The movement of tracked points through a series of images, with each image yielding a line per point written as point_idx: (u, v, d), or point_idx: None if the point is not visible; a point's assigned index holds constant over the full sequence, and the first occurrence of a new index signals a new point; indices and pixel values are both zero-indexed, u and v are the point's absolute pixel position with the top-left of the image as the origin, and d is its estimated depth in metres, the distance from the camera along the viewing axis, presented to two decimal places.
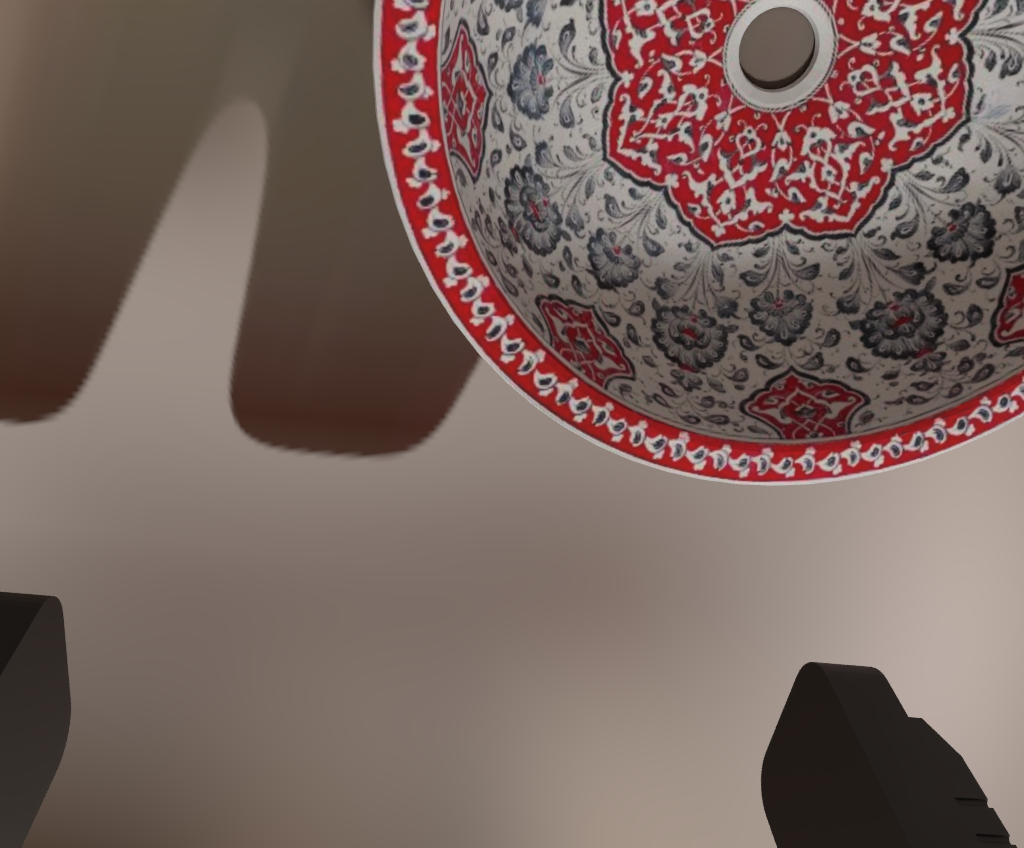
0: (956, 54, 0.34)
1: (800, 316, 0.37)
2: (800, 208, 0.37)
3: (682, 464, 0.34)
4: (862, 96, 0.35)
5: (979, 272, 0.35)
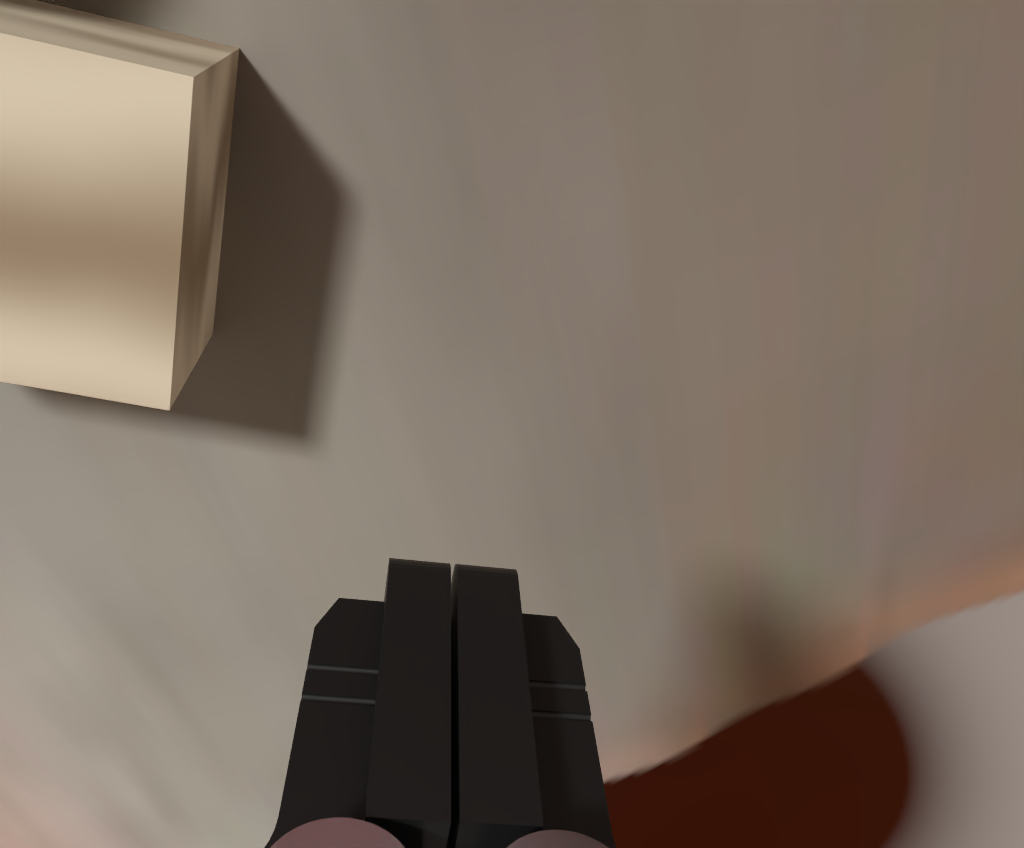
0: None
1: None
2: None
3: None
4: None
5: None
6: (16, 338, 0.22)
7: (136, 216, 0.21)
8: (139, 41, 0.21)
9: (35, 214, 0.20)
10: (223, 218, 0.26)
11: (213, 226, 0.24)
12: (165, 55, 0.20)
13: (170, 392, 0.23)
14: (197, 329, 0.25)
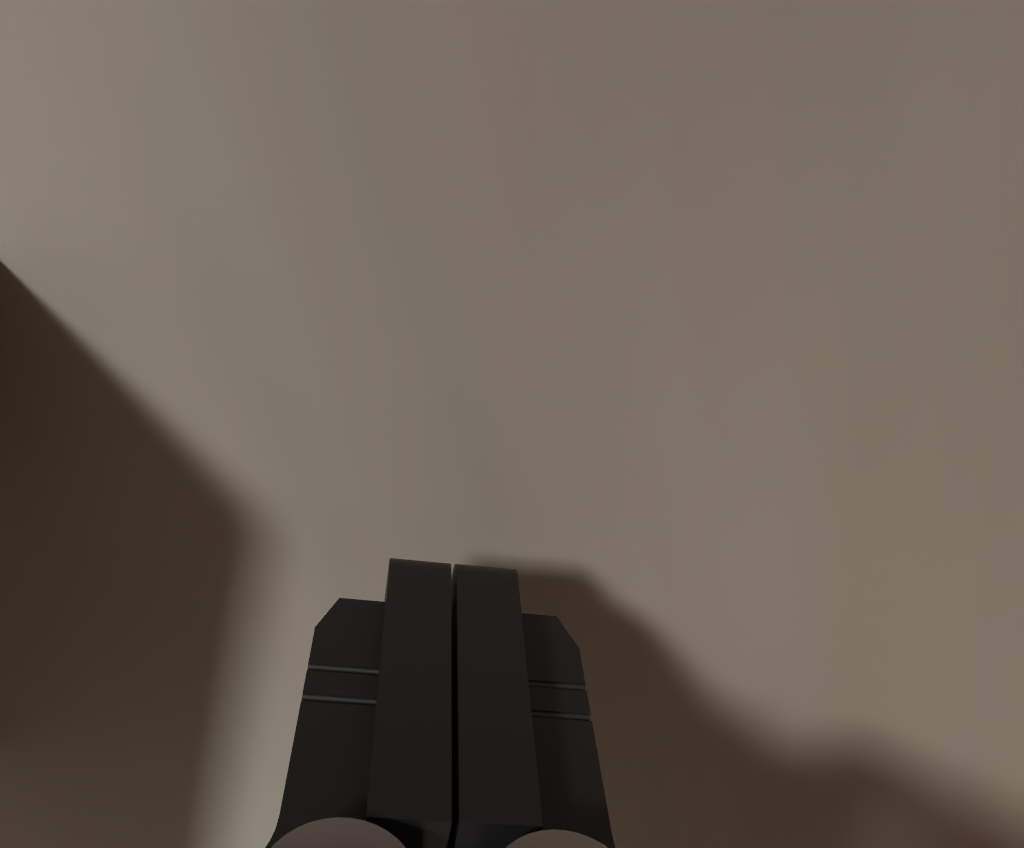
0: None
1: None
2: None
3: None
4: None
5: None
6: None
7: None
8: None
9: None
10: None
11: None
12: None
13: None
14: None
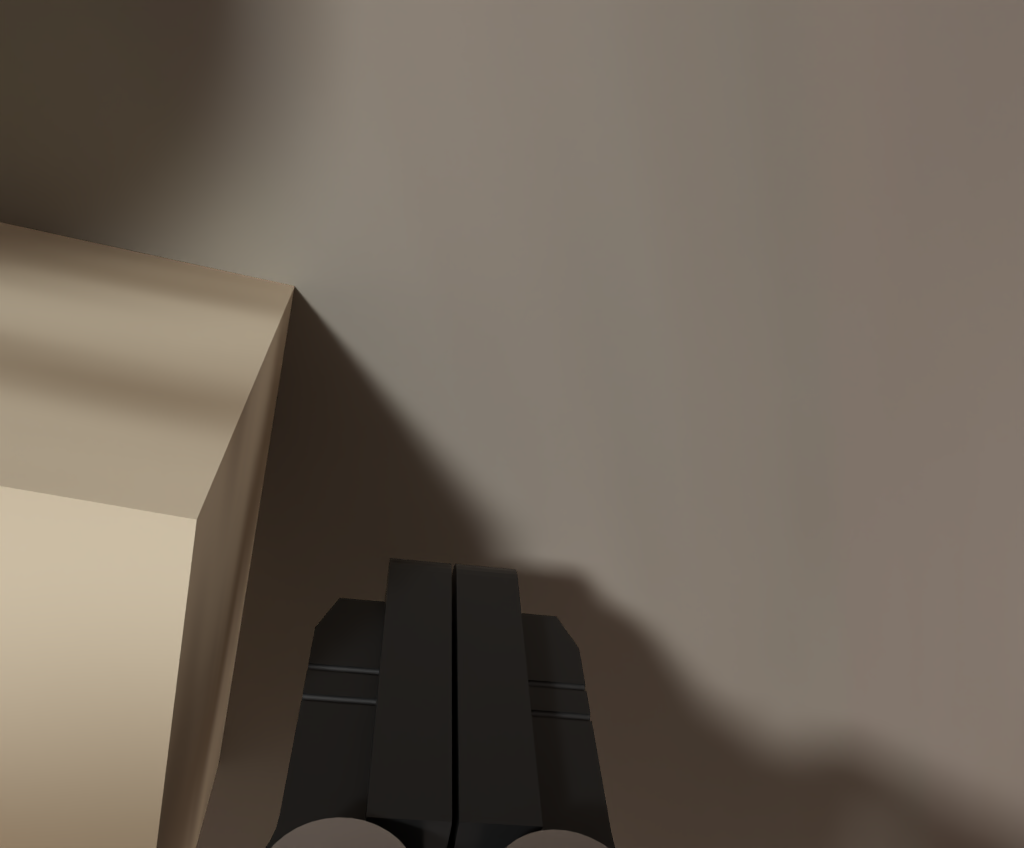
0: None
1: None
2: None
3: None
4: None
5: None
6: None
7: (35, 810, 0.08)
8: (59, 327, 0.08)
9: None
10: (246, 587, 0.13)
11: (228, 642, 0.12)
12: (121, 391, 0.08)
13: None
14: (189, 846, 0.12)
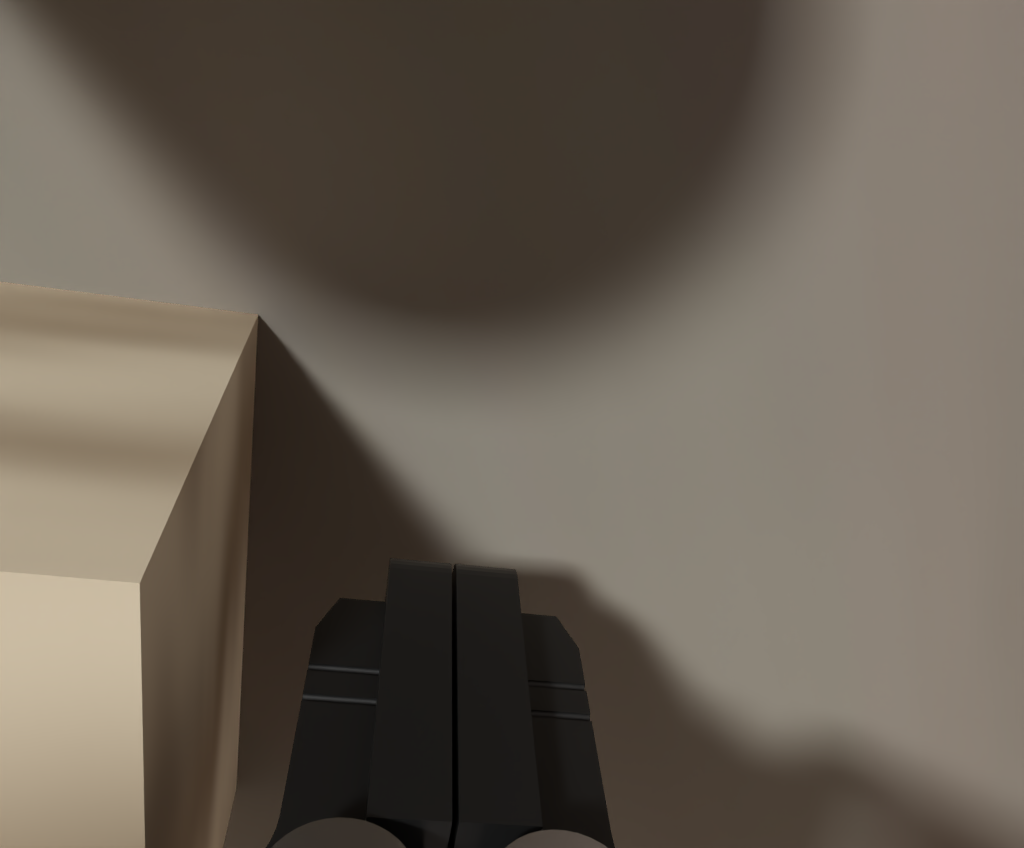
0: None
1: None
2: None
3: None
4: None
5: None
6: None
7: None
8: (10, 389, 0.08)
9: None
10: (241, 623, 0.13)
11: (223, 682, 0.11)
12: (70, 452, 0.08)
13: None
14: None
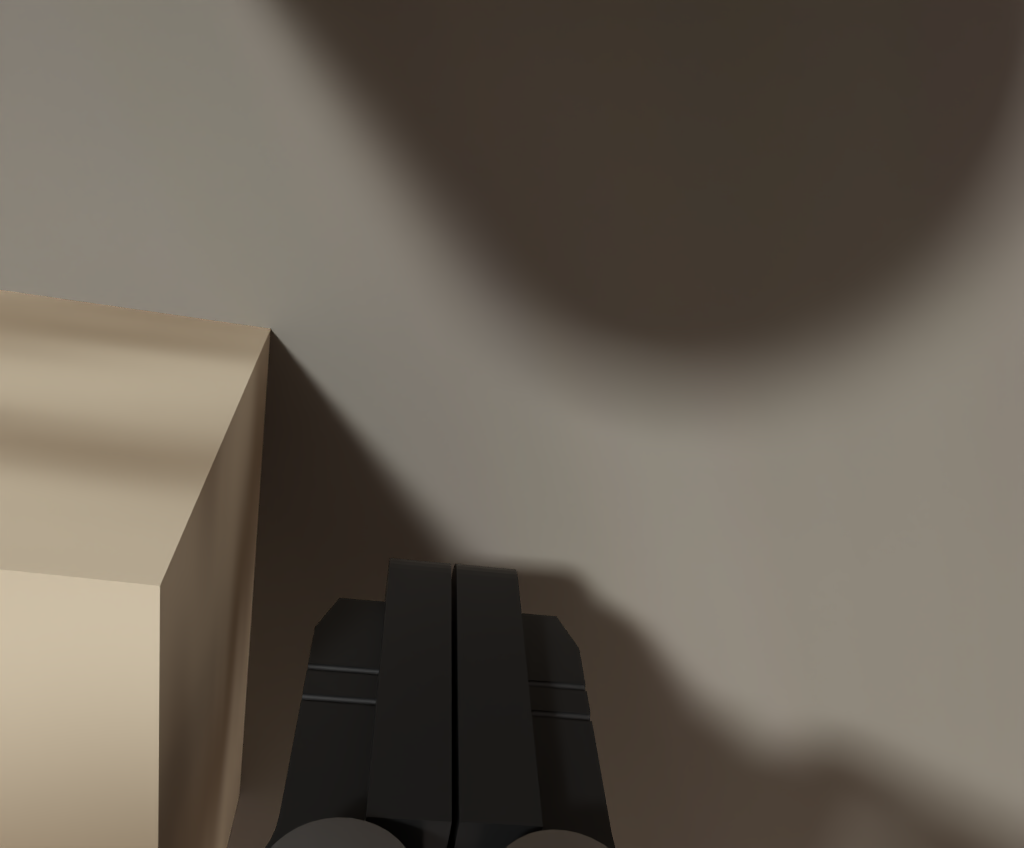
0: None
1: None
2: None
3: None
4: None
5: None
6: None
7: None
8: (34, 393, 0.09)
9: None
10: None
11: (233, 678, 0.12)
12: (92, 455, 0.08)
13: None
14: None
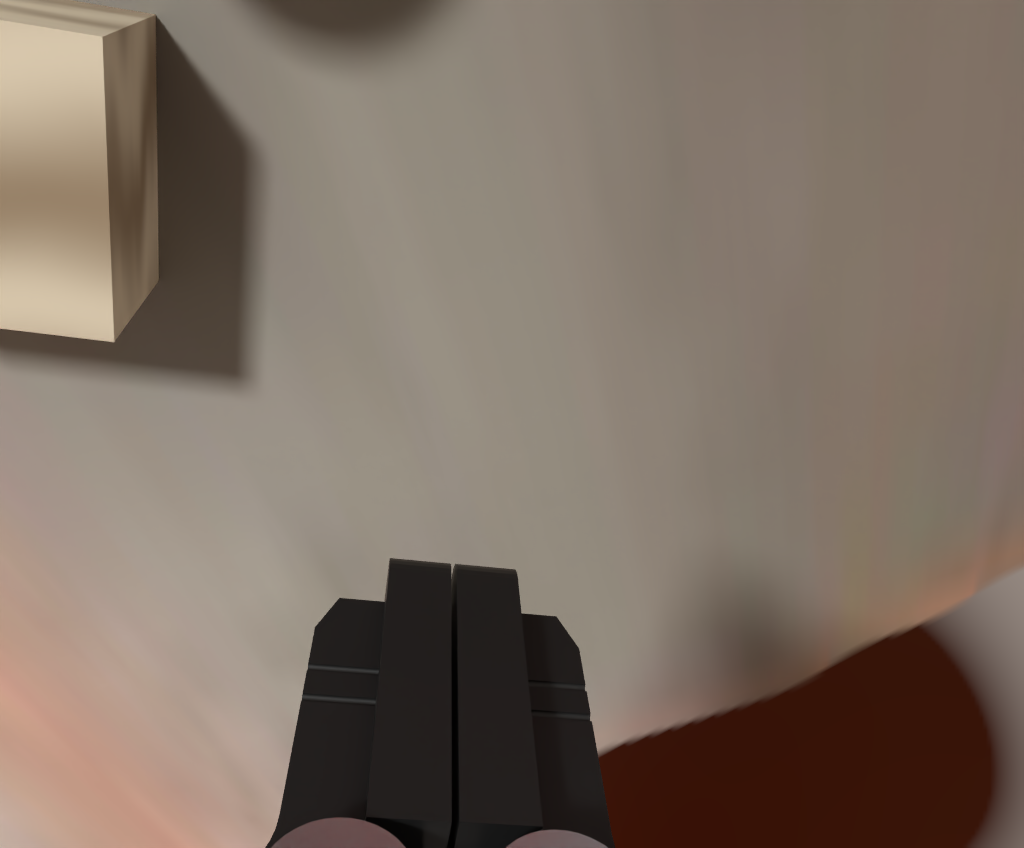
0: None
1: None
2: None
3: None
4: None
5: None
6: None
7: (65, 165, 0.23)
8: (60, 11, 0.24)
9: None
10: (157, 172, 0.28)
11: (145, 178, 0.27)
12: (81, 21, 0.23)
13: (113, 325, 0.26)
14: (138, 272, 0.27)
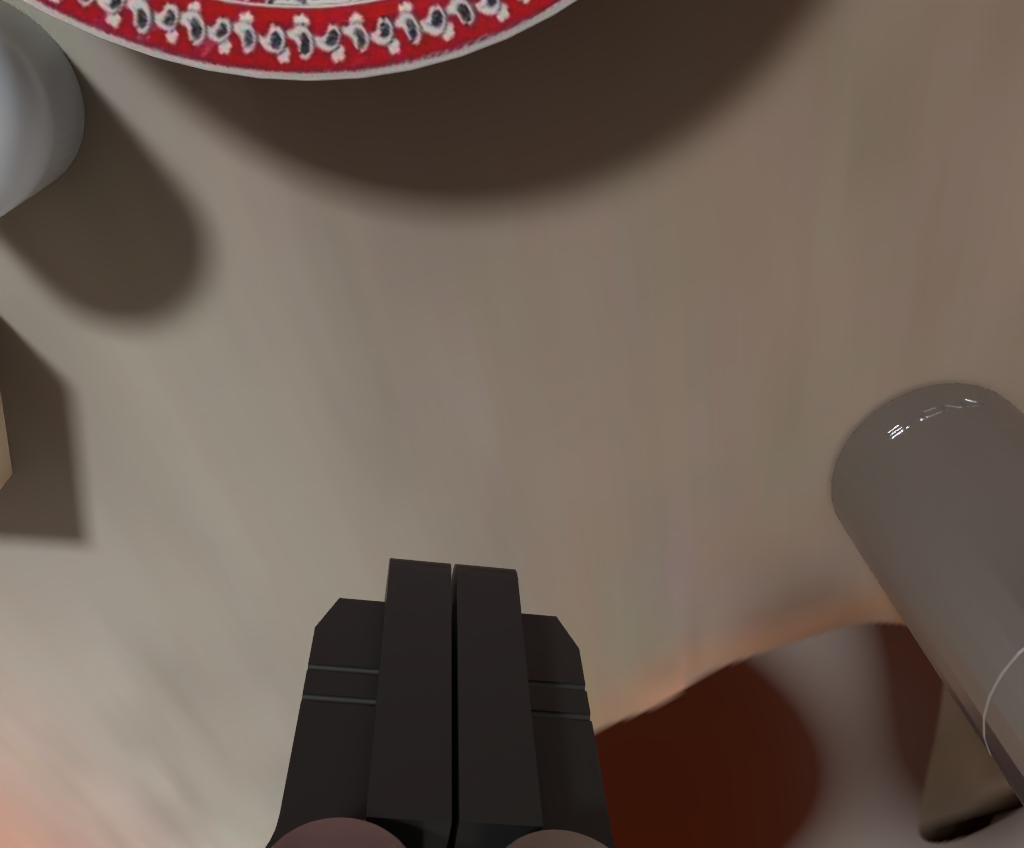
0: None
1: None
2: None
3: None
4: None
5: None
6: None
7: None
8: None
9: None
10: None
11: None
12: None
13: None
14: None
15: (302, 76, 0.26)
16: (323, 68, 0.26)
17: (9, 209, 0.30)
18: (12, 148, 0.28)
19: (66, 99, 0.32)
